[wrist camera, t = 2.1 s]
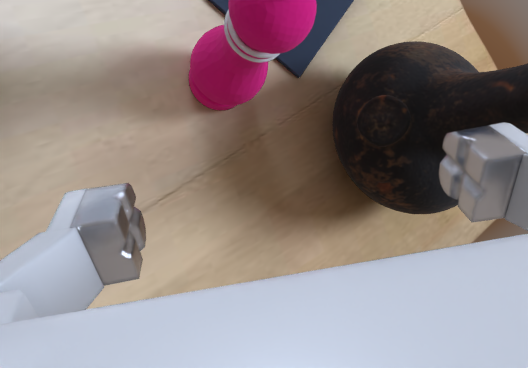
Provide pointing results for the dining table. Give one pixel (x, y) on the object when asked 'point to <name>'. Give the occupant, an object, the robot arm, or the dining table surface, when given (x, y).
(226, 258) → the dining table surface
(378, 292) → the robot arm
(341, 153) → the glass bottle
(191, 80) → the pepper mill
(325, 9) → the mat
